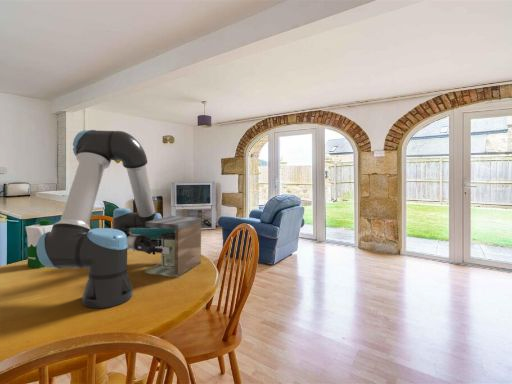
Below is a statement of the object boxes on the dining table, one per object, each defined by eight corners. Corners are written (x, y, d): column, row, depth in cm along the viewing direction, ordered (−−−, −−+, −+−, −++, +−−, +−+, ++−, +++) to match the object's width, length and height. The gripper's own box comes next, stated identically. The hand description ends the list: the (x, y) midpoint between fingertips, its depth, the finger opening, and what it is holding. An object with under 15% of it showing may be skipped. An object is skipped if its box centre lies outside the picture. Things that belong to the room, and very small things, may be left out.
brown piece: (145, 272, 121) (145, 222, 120) (171, 259, 140) (171, 215, 139) (177, 277, 116) (178, 224, 115) (200, 263, 136) (201, 217, 134)
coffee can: (182, 260, 135) (183, 231, 135) (185, 267, 126) (186, 236, 125) (160, 262, 132) (160, 232, 131) (161, 269, 122) (161, 237, 121)
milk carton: (58, 263, 130) (57, 220, 129) (37, 269, 122) (36, 223, 120) (44, 261, 133) (43, 219, 132) (23, 266, 124) (22, 222, 123)
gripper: (155, 244, 145) (192, 248, 139) (119, 257, 121) (161, 263, 115) (155, 230, 145) (192, 233, 139) (119, 240, 121) (161, 245, 115)
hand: (178, 247), depth 127 cm, fingers open, 13 cm apart
